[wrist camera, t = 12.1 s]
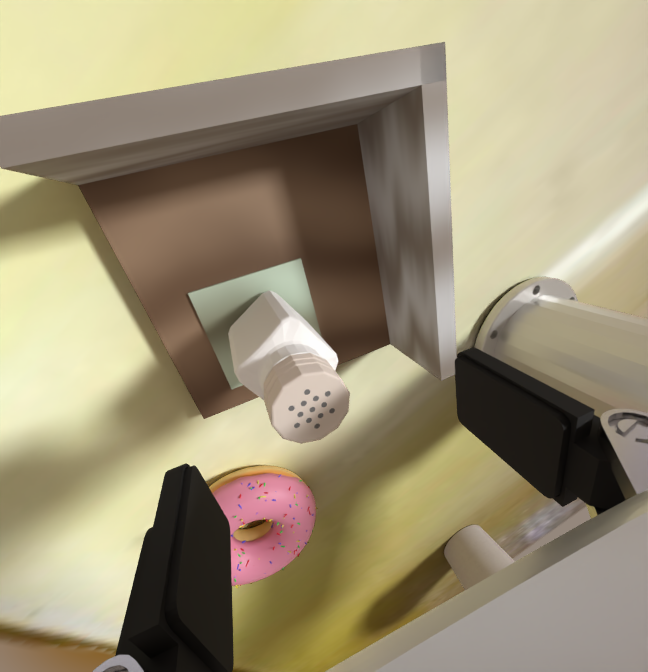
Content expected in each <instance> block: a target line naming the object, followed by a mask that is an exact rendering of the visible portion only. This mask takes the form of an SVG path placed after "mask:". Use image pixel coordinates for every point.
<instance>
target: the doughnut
mask: <svg viewBox="0 0 648 672" xmlns="http://www.w3.org/2000/svg"><path fill="white" fill-rule="evenodd" d="M209 489H210V490H211V492H212V494H213V495H214V497H215V499H216V500H217V502H218V504H219V505H220V507H221V509H222V510H223V512H224V514H225V515H226V517H227V519H228V521H229V525H230V535H231V577H232V586H236V588H238V587H237V586H239V585H240V586H241V585H243V584H248V583H250V584H252V582H255V581H258V580H261V579H264V578H266V577H268V576H270V575H272V574H274V573H276V572H278V571H279V570H281V569H282V570H283V569H284V567H285V566H286V565H288V564H289V563H290V562H291V561H292V560H294V558H295V557H296V556H297V555H298V556H299V554H300V552H301V551H302V549H303V548H304V547H305V545H306V544H307V543H309V542H308V540H309V538H310V536H311V533H312V532H313V528H314V524H315V517H316V509H317V507H316V505H315V499H314V496H313V493H312V491H311V490H310V489H309V486H308V487H307V485H306V484H305V482H304V481H303V480H302V479H301V478H300V477H299V476H298V475H296V474H295V473H293V472H291V471H289V470H287V469H284V468H281V467H276V466H254V467H248V468H244V469H241V470H238V471H235V472H233V473H230V474H228V475H226V476H224V477H223V478H221V479H219V480H218V481H216V482H215V483H213V484H212V485H211V486H210V487H209ZM264 519H265V520H266V521H265V522H264V523H262V524H260V525H258V526H256V527H253V528H249V529H238V528H240V527H243V526H244V525H245V524H247V523H250V522H252V521H256V520H264ZM267 519H268V520H267Z"/></svg>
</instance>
